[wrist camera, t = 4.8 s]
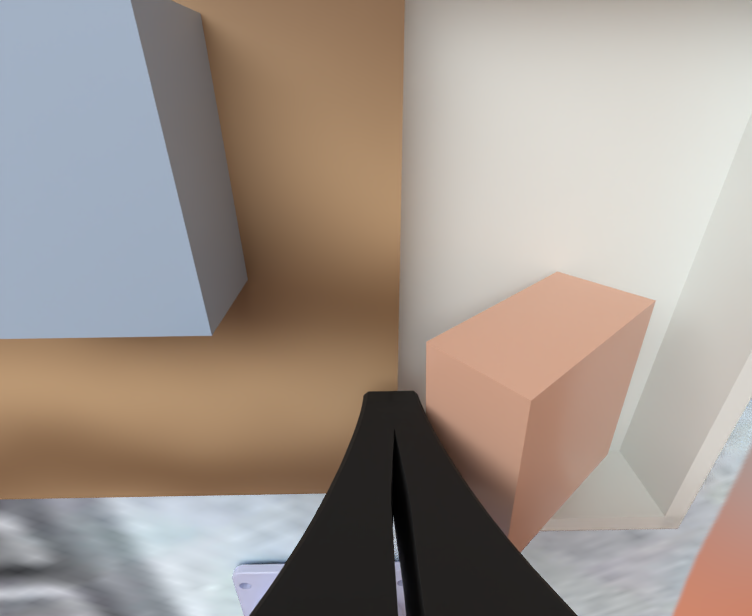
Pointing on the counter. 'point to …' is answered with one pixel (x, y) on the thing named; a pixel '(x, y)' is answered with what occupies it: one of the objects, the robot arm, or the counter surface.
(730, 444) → the counter surface
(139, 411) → the oak board
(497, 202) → the tray
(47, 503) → the counter surface
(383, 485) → the robot arm
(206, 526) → the counter surface
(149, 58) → the slate tile
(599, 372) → the terracotta tile
